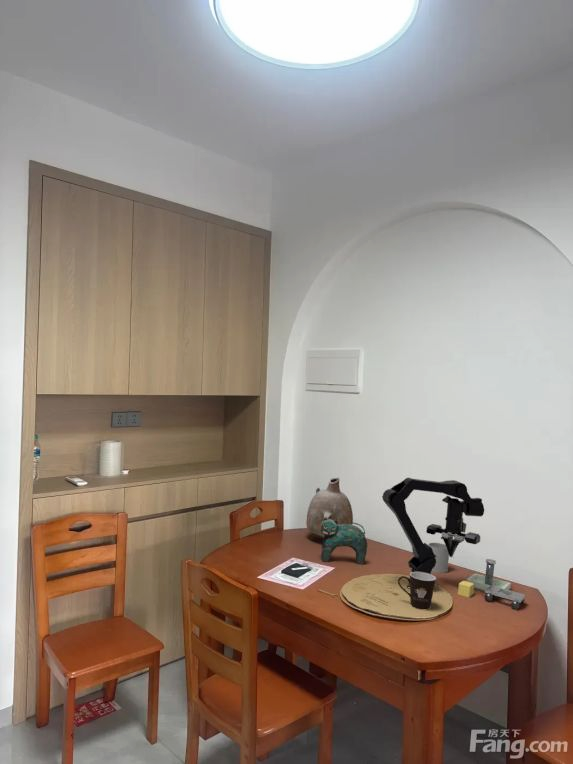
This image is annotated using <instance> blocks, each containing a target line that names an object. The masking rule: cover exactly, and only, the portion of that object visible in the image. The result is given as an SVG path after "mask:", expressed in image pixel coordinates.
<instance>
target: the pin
mask: <svg viewBox="0 0 573 764" xmlns="http://www.w3.org/2000/svg"><path fill="white" fill-rule="evenodd" d="M485 562H486V567H485V575H484V576H485V584H487V585H492V584H493V578H494V573H495V565H496V564H497V563H496V562H497V561H496V560H494V559H490V558H486V559H485Z"/></svg>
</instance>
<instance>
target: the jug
mask: <svg viewBox="0 0 573 764" xmlns="http://www.w3.org/2000/svg"><path fill="white" fill-rule="evenodd" d="M339 513H342V514H344V515H345V516H344V515H342V514H339ZM337 514H339V515H337ZM353 514H354V513H353V508H352V504H351V501H350V499H349V498H348V496H347V495H346V494H345V493H344V492H341V489H340V477H333V478H331V479H329V481H328V485H327V487H326V488H325V489H320V487H317V488H316V489H315V494H314V496H313V497H312V498H311V500H310V502H309V505H308V509H307V513H306V521H305V522H306V523H305V525H306V529H307V531H309V532H310V533H313V534H315V535H318V536H319V537H320V538H322V540H323V539H324V534H323V533H322V532H321V523H322V521H323V520H324V518H325V517H326V518H327V519H331V520H333V521H336V516H337V521H338V523H340V524H346V523H350V524H351V525H354V524H353V523H354V517H353V516H354V515H353ZM351 522H353V523H351ZM338 523H337V524H338ZM338 525H339V524H338Z"/></svg>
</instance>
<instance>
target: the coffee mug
mask: <svg viewBox="0 0 573 764" xmlns="http://www.w3.org/2000/svg"><path fill="white" fill-rule="evenodd" d="M402 579H406V580H407V581H408V585H409V584H410V588H409V589H410V591H407V590H406V589H405V588H404V587H403V586H402V585H401V583H400V581H401V580H402ZM436 581H437V577H436V576H435V575H433V574H432V573H430V574H428V573H424V572H411V571H410V573H409V577H407V576H406V575H404V576H403V575H402V576H400V577H399V578H398V580H397V584H398V586H399V587H400V589H401V590H402V591H404V592H405V593H406V594H407V595H408V596H409V598H410V605H412V606H411V607H412V608H414V607H415V609H417V608H418V610H422V609H427V610H429V609H428V608H430V609H431V605H432V600H433V595H434V589H435V584H436Z"/></svg>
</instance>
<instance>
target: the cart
mask: <svg viewBox="0 0 573 764" xmlns="http://www.w3.org/2000/svg"><path fill="white" fill-rule="evenodd" d="M500 592H503V593H506V594H503V593H500ZM484 593H485V595H484V599H485V600H484V601H486V602H488V603H489V602H492V601H493V599H494V598H493V597H500V598H503V599H507V600H510V601H512V602H511V603H510V606H511V609H513V610H515V611H516V610H518V609H519V608H520V604H523V603H525V601H526V599H525V598H526V594H525V593H521V592H517V591H513V590H511V589H510V590H506V589H503V588H499V587H496V586H492V585H491V586H489V587H488V588H487V589H486V590H485V591H484Z"/></svg>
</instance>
